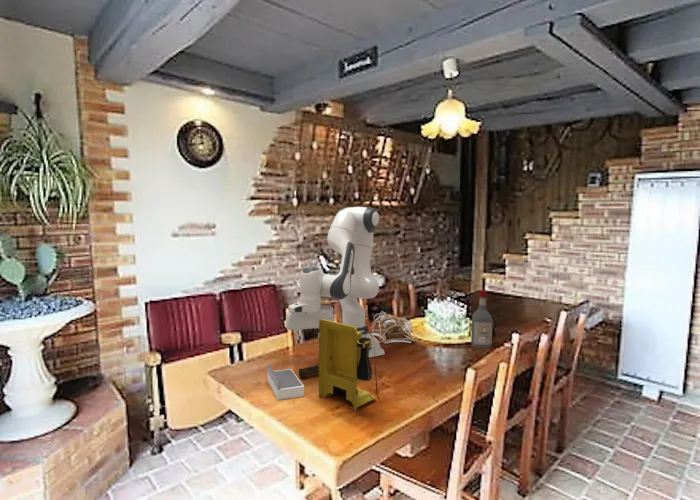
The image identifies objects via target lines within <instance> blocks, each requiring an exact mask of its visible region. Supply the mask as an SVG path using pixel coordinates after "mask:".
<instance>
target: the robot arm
mask: <svg viewBox="0 0 700 500" xmlns="http://www.w3.org/2000/svg"><path fill="white" fill-rule="evenodd" d="M379 225H380V214H379V211H378V209H376V208H373V207H370V206H368V207H367V206H352V207H351V206H350V207H342V208H339V209H338V210H337V211H336V213H335V217H334V219H333V220H332V223H331V225H330V227H329V231H328V232H327V233H328V234H327V238H326V240H327V244H328V245H329V247H330V248H331V250H333V251H335V252H336V253H338V254H340V255H341V262H340V267H339V272H338V274H328V273H324V272H322V271H321V270H320V268H319V267H317V266H310V267H305V268H303V269H302V270H301V274H300V277H299V278H300V280H299V291H300V296H299V301H297V302H294V303H292V304H290V305H288V308H287V309H288V312H287V313H286V316H285V328H286V329H287V331H294V333H295V335H296V340H297V341H300V340H302V335H301V334H299V330H309V329H310V330H311V329H319V321H320V320H321V319H324V320H329V321H333V322H334V307H333V306H332V305H330V304H329V305H321V304H322V303H321V302H322V298H321V297H326V298H332V299H335V300H336V299H337V300H338V301H339V303H340V306H341V312H342V313H341V314H342V318H341V319H342V324H345V325H350V326H354V327H356V328H357V331H358V332H362V337H365V336H366V337H365V338H370V339H371V342H372V345H371V346H369V359H370V358H376V357H378V356H383V355H385V354H386V353H385V352H386V351H385V350H384V349H383V348H382V347H381V343H380V340H378V339H377V337H375V335H372V336H371V334H369V333H370V332H372V330H373V329H372V326H369V325H367V324H366V309H365V308H364V306H363V305H362V304H360V302H359V301H358V299H360V300H361V299H363V300H367V299H374V298H375V297H376V296H377V294H379V290H380V285H379V282H378V280H377V279H376V278H375V276H374V275H373V272H372V268H371V259H372V251H373V246H374V231H375V230H376V229H377V227H378V226H379ZM353 270H354V271H353ZM353 272H354V273H353ZM367 332H368V333H367ZM366 333H367V335H366ZM317 335H318V336H317V339H319V332H318V333H317ZM372 337H373V340H372ZM373 341H374V343H373ZM374 349H375V356H374Z"/></svg>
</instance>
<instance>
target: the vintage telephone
mask: <svg viewBox="0 0 700 500" xmlns="http://www.w3.org/2000/svg"><path fill="white" fill-rule="evenodd" d="M368 332H369V331H368ZM368 332H367V333H368ZM318 333H319V338H318V365H319V373H318V398H326V397H328V396H329V397H330V396H331V395H335V394H336V393H338V392H342V393H343V394H344V396H346V397H345V398H346V399H345V400H347V401H349V402H350V403H351V404H352V406H350V408H351V409H354V412H357V409H358V408H359V407H361V406H363V405H366V404H367V403H369V402H372V401H375V402H376V403H378V401H379V405H382V404H381V399H380V396H379V393H378V382H377V381H378V380H377V377H375V390H376V391H375V392H376V396H375V395H374V394H373V393H372V392H370V391H367V390H364V389H361V388H359V387H357V385H358V384H357V383H359V382H361V383H362V382H363V383H364V382H367V383H368V382H369V381H371V380H372V379H373V378H372V377H373V374H372V373H373V372H372V371H373V369H372V365H371V360H370V358H369V346H371V345H372V342H371V339H370V338H365V337H366V336H365V337H362V332H358V331H357V328H356V327H354V326H350V325H345V324H343V323H341V322H336V321H334V320H333V321H329V320H324V319H321V320H320V321H319V328H318ZM367 333H366V335H367ZM369 334H370V332H369ZM371 336H372V334H371ZM372 340H373V337H372ZM373 343H374V341H373ZM374 356H375V349H374ZM375 357H376V356H375ZM376 366H377V365H376V363H374V370H375V371H374V372H375V376H377V367H376ZM376 398H377V399H378V401H377V400H376Z"/></svg>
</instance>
